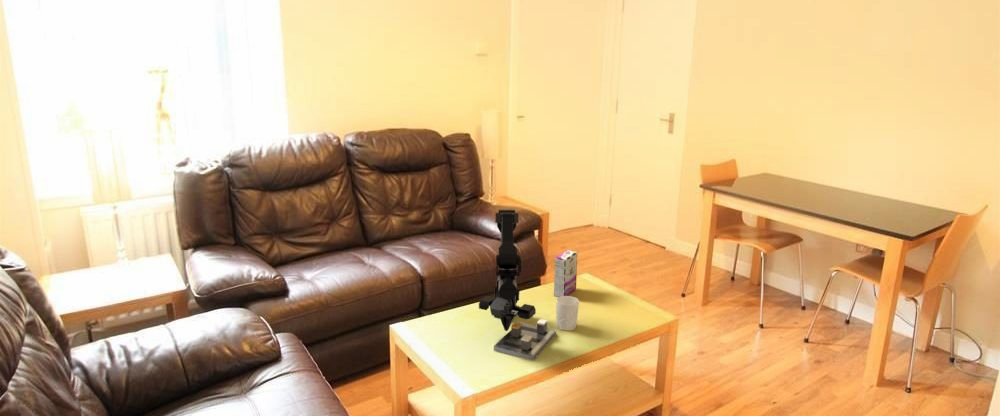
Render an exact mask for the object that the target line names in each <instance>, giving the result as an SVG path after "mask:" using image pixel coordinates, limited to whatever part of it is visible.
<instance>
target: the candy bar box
mask: <svg viewBox="0 0 1000 416" xmlns="http://www.w3.org/2000/svg"><path fill="white" fill-rule="evenodd" d="M577 266H578V251H575V250H570V249H567V250H564V251H563V252H561V253H560V254H558V255H557V256H555V257H554V278H553V279H554V282H553V286H554V288H553V289H554V290H553V296H554V297H556V298H558V297H561V296H570V295H571V294H572V293H573V292H575V291H576V290H577V273H578V272H577V271H578V267H577Z"/></svg>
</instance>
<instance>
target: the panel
mask: <svg viewBox="0 0 1000 416" xmlns="http://www.w3.org/2000/svg"><path fill="white" fill-rule="evenodd" d="M518 323H520V324H522V329H521V335H520V336H519V337H514V336H511V329H510V330H508V331H507V333H506V334H505V335H504V336H503V337H502V338H501V339H500V340H498V341H497V343H496V344H494V345H493V351H494V352H498V353H501V354H506V355H509V356H514V357H517V358H522V359H525V360H530V361H535V360H536V359H537V357H538V356H539V355H540V354H541V353H542V352H543V350H544V349H545V348H547V346H548V344H550V343H551V341H552V340H553V339H554V338H555V336H557V330H556V329H551V328H547V330H546V331H545V332H544V334H542V333H538V332H537V325H533V324H529V323H524V322H518ZM524 335H529V336H532V346H531V348H530V349H529V350H524V349H521V338H522V337H523V336H524Z"/></svg>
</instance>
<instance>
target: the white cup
mask: <svg viewBox="0 0 1000 416" xmlns="http://www.w3.org/2000/svg"><path fill="white" fill-rule="evenodd" d="M555 300H556V301H555V302H556V308H555V309H556V311H555V312H556V327H557V328H558V329H559V330H560V331H561V330H562V331H568V332H569V331H574V330H575V329H576V328H577V323H578V322H577V321H578V316H579V306H580V300H579V298H577V297H574V296H570V295H568V296H561V297H556V299H555Z"/></svg>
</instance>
